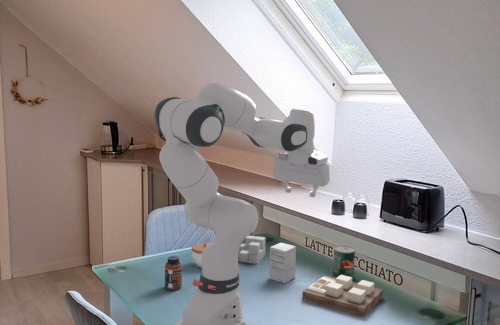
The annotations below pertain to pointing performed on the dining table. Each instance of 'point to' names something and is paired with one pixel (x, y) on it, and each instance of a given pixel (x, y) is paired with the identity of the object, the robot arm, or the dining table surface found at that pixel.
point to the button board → (340, 297)
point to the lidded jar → (198, 253)
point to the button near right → (356, 295)
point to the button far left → (344, 281)
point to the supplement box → (282, 262)
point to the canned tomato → (343, 261)
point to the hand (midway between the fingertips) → (300, 194)
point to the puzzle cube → (252, 249)
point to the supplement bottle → (173, 273)
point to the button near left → (334, 289)
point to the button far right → (366, 286)
